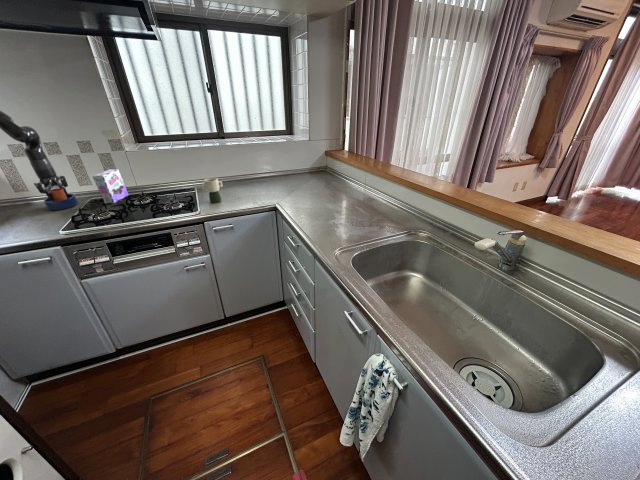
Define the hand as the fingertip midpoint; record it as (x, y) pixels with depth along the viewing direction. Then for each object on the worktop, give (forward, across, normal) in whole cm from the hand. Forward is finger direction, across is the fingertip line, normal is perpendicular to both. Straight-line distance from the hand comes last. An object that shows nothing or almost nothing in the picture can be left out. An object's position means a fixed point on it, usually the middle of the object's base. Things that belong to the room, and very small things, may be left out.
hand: (59, 197), depth 148 cm
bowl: (+5, 0, 0) cm, 5 cm away
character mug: (+6, -23, +82) cm, 86 cm away
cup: (+5, 0, 0) cm, 5 cm away
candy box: (+6, -15, +22) cm, 27 cm away
